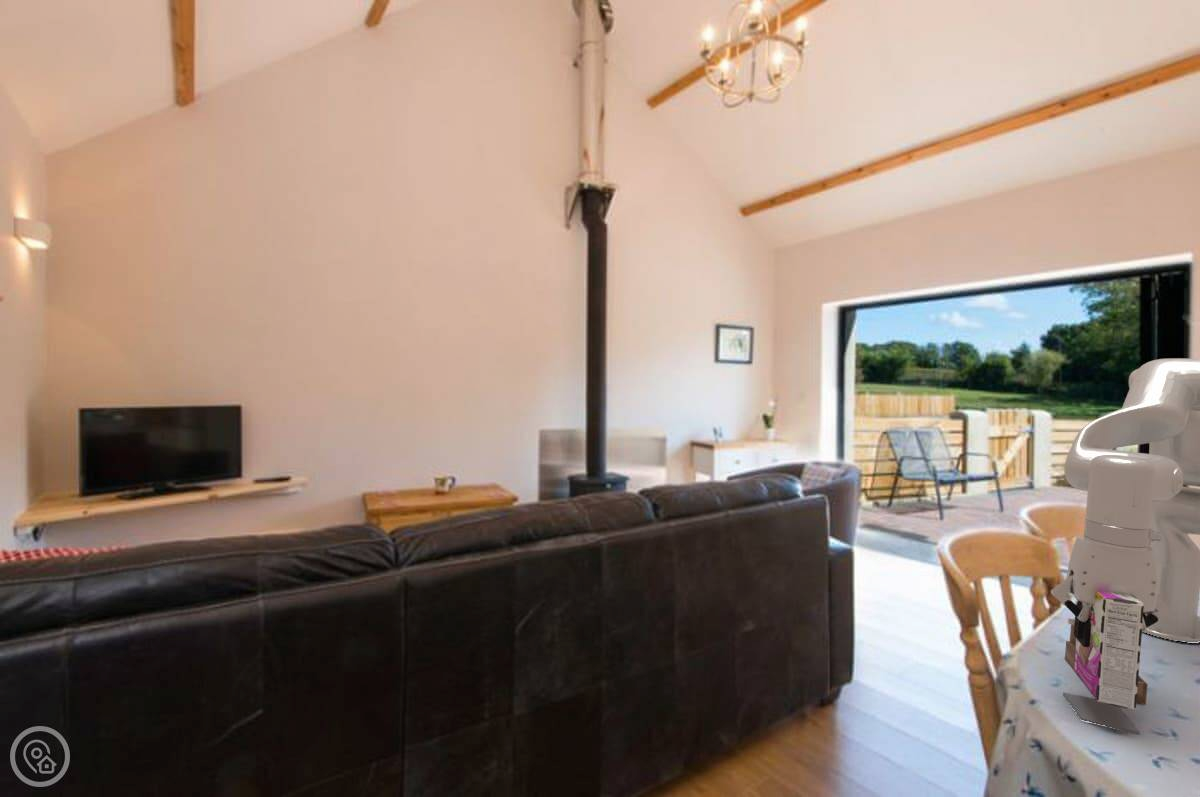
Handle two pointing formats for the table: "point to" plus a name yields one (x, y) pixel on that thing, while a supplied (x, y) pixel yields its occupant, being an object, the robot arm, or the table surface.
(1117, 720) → the pad
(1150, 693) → the table surface
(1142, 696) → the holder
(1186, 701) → the table surface
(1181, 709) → the table surface
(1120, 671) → the candy bar box
